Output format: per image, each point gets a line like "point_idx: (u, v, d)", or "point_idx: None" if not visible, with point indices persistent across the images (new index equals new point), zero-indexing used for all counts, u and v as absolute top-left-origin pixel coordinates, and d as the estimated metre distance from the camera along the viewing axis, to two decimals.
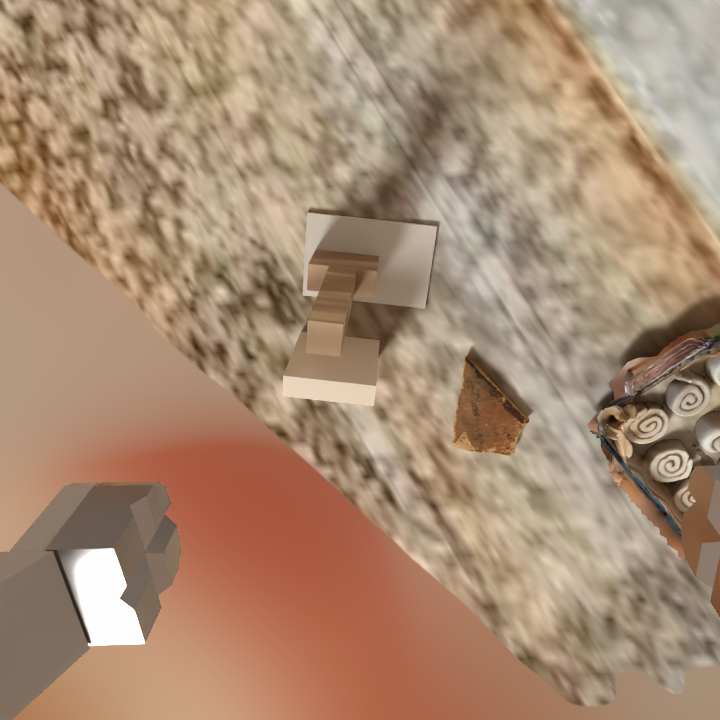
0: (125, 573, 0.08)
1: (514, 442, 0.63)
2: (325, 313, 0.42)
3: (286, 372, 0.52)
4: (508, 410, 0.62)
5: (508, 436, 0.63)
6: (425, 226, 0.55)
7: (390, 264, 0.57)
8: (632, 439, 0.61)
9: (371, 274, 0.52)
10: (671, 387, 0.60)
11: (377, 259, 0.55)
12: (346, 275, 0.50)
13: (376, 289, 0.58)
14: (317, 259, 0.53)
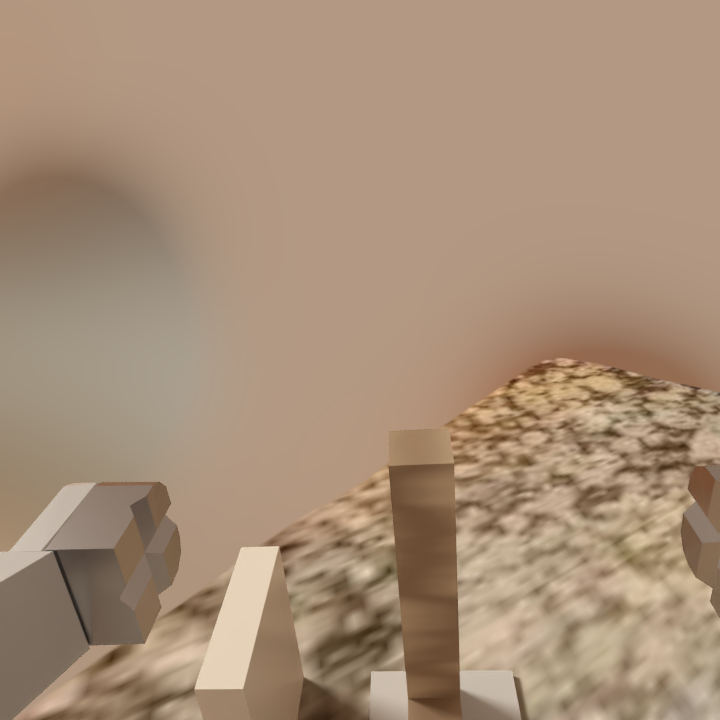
0: (125, 573, 0.08)
1: None
2: None
3: (280, 558, 0.31)
4: None
5: None
6: None
7: None
8: None
9: None
10: None
11: None
12: None
13: None
14: None
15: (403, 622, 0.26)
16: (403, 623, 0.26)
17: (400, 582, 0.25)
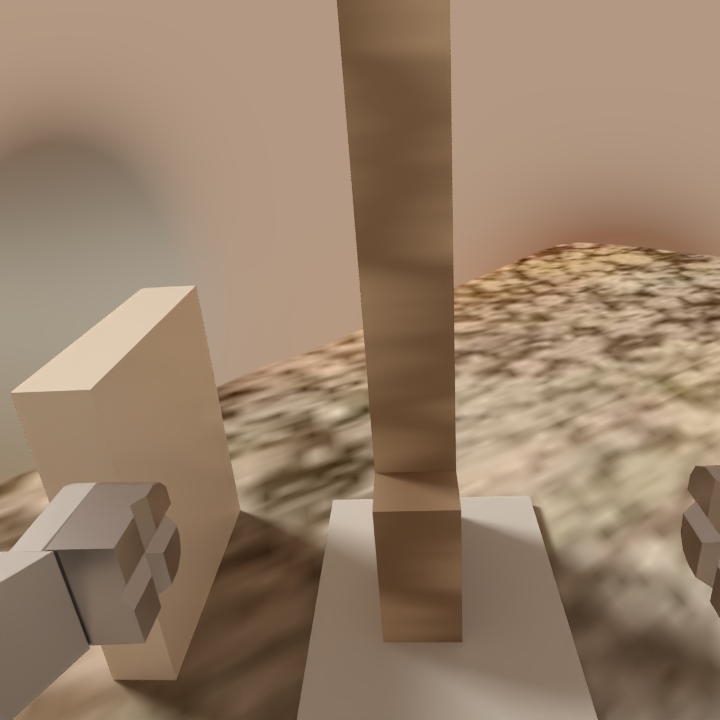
0: (125, 573, 0.08)
1: None
2: None
3: (198, 304, 0.22)
4: None
5: None
6: None
7: (441, 676, 0.17)
8: None
9: (448, 499, 0.17)
10: None
11: None
12: None
13: (354, 645, 0.18)
14: None
15: (365, 319, 0.16)
16: (365, 321, 0.16)
17: (359, 233, 0.15)
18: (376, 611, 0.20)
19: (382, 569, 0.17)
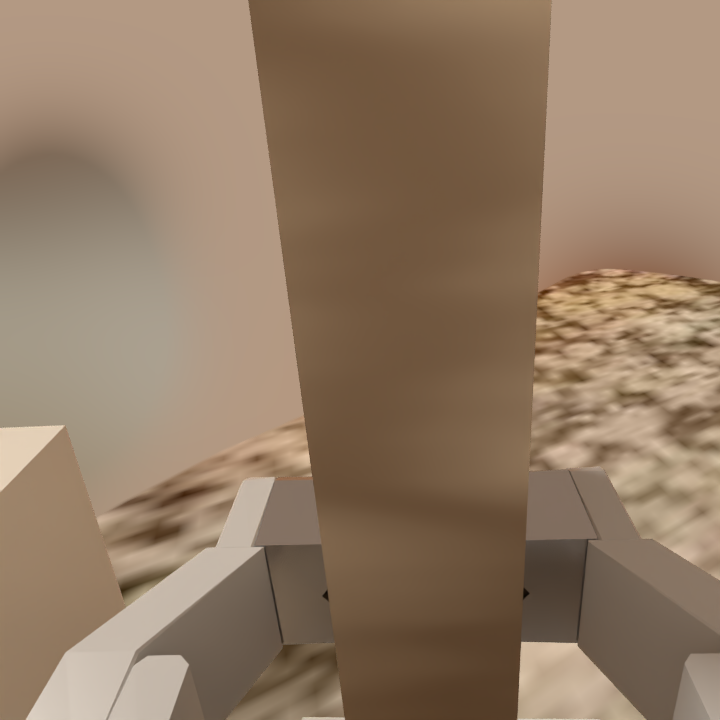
0: None
1: None
2: None
3: (70, 454, 0.13)
4: None
5: None
6: None
7: None
8: None
9: None
10: None
11: None
12: None
13: None
14: None
15: (334, 597, 0.08)
16: (335, 601, 0.08)
17: (315, 442, 0.07)
18: None
19: None
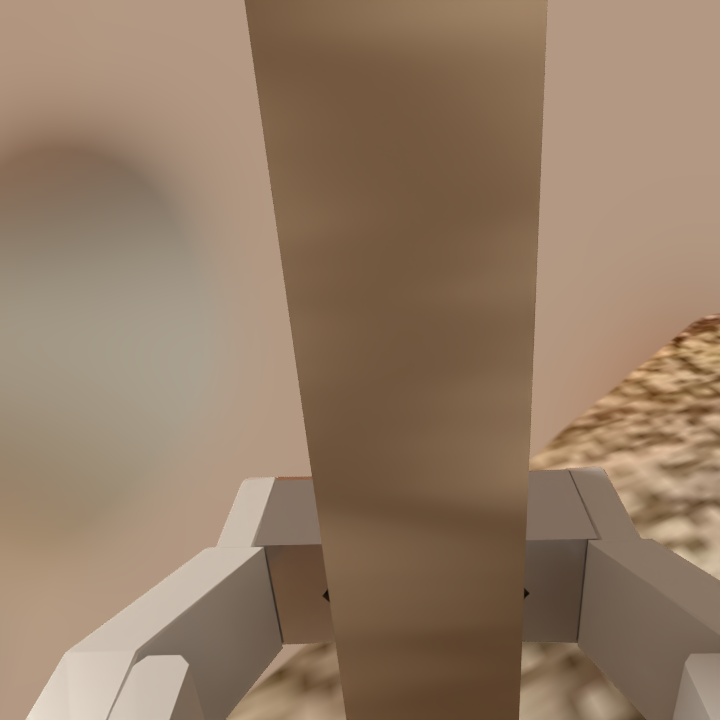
0: None
1: None
2: None
3: None
4: None
5: None
6: None
7: None
8: None
9: None
10: None
11: None
12: None
13: None
14: None
15: (336, 603, 0.08)
16: (336, 606, 0.08)
17: (316, 449, 0.07)
18: None
19: None
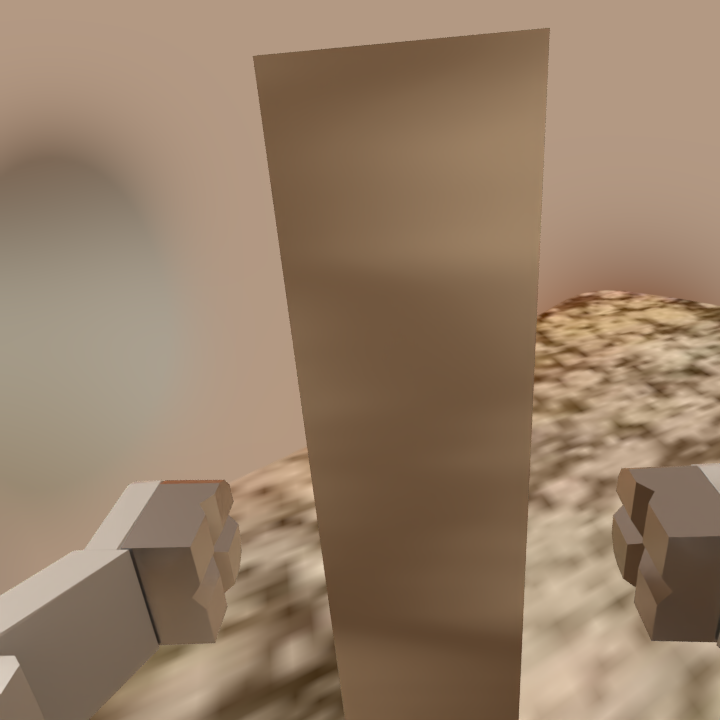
0: (199, 572, 0.08)
1: None
2: None
3: None
4: None
5: None
6: None
7: None
8: None
9: None
10: None
11: None
12: None
13: None
14: None
15: (349, 706, 0.08)
16: (349, 709, 0.08)
17: (333, 582, 0.07)
18: None
19: None
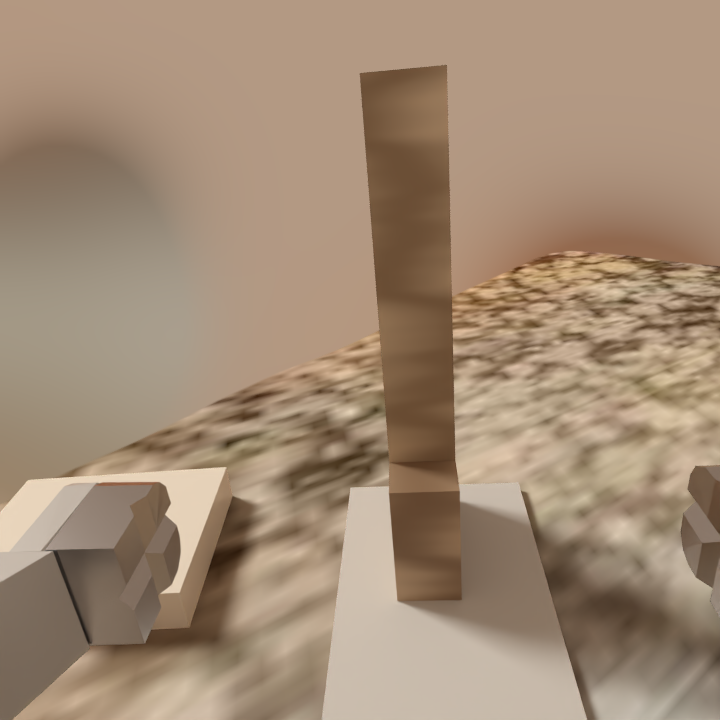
0: (125, 573, 0.08)
1: None
2: None
3: (39, 481, 0.30)
4: None
5: None
6: (576, 697, 0.19)
7: (444, 624, 0.21)
8: None
9: (449, 483, 0.21)
10: None
11: None
12: None
13: (373, 602, 0.23)
14: None
15: (382, 340, 0.20)
16: (382, 342, 0.20)
17: (378, 274, 0.19)
18: (390, 576, 0.24)
19: (396, 540, 0.21)
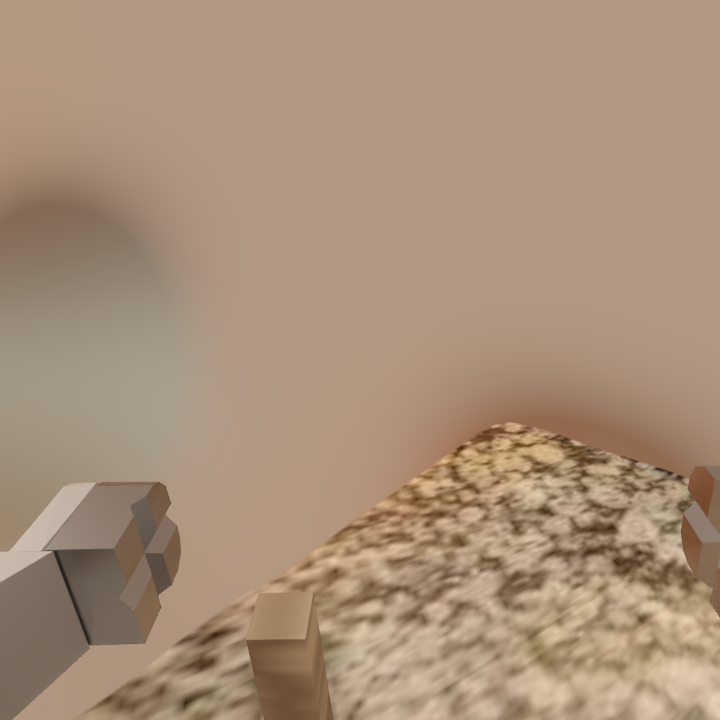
0: (125, 573, 0.08)
1: None
2: (314, 639, 0.26)
3: None
4: None
5: None
6: None
7: None
8: None
9: None
10: None
11: None
12: None
13: None
14: None
15: None
16: None
17: None
18: None
19: None
